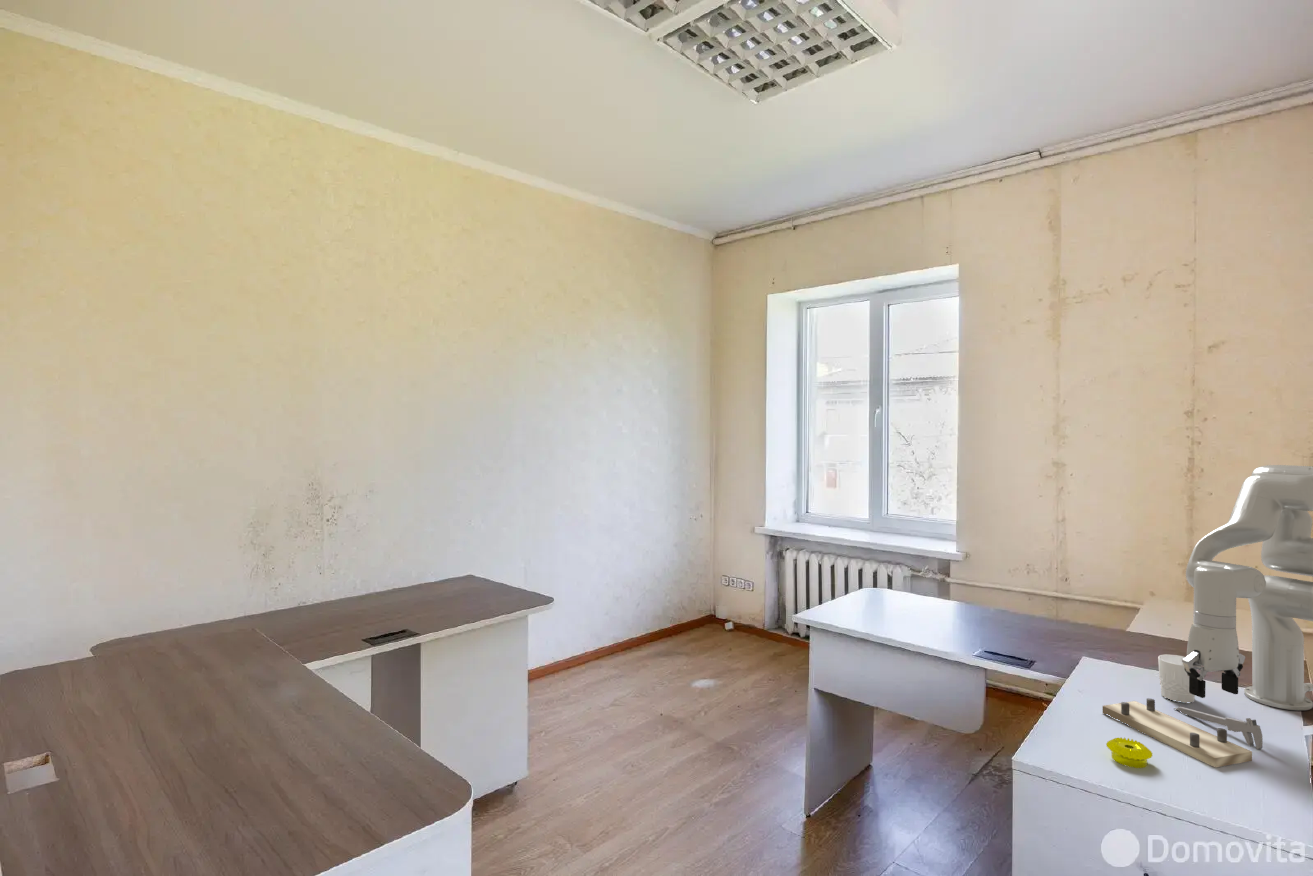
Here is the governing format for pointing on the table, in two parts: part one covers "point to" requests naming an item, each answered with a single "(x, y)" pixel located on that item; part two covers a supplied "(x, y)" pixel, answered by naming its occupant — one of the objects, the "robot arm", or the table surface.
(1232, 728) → the caliper
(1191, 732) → the tool rest
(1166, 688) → the white cup
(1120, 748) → the gear
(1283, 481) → the robot arm
